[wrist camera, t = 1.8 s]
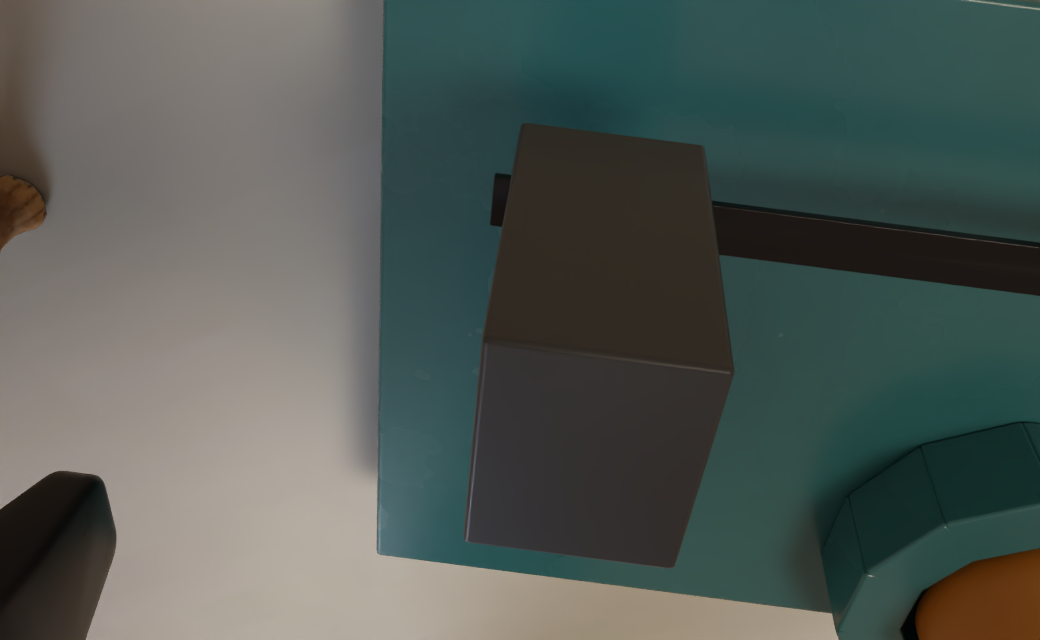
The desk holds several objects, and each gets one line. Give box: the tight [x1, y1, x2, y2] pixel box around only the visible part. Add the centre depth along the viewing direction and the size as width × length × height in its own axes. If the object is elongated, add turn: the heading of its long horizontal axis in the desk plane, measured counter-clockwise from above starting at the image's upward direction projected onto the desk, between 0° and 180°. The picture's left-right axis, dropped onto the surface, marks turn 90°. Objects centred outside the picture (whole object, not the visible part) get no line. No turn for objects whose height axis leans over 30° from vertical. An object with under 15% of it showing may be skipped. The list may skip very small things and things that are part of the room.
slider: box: [463, 123, 735, 569], centre depth 12 cm, size 3×2×4 cm
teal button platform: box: [377, 0, 1040, 640], centre depth 19 cm, size 14×17×5 cm
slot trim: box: [490, 173, 1040, 296], centre depth 13 cm, size 3×11×1 cm, turn 85°
